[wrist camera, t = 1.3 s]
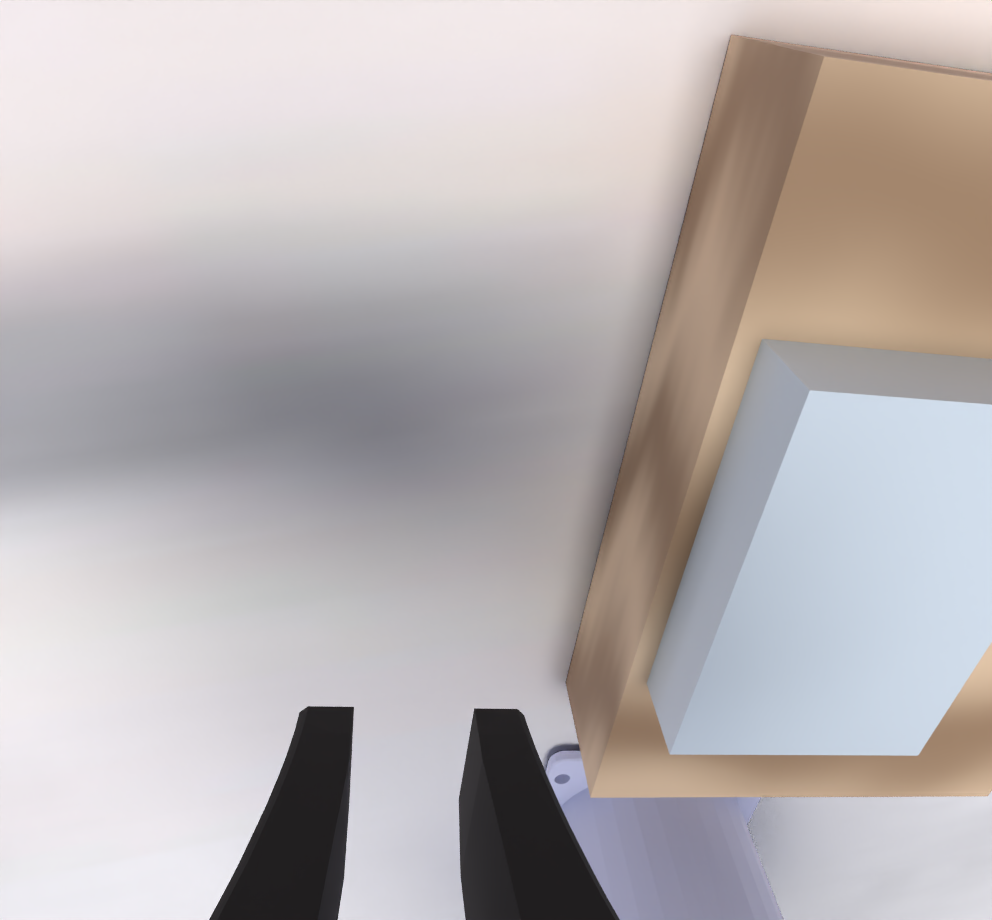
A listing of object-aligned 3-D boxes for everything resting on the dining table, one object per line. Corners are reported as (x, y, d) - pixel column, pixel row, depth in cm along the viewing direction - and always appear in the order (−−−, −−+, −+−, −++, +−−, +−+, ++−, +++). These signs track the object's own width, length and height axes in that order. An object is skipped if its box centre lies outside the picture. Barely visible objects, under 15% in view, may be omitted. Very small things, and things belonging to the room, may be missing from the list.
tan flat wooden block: (913, 688, 26) (987, 796, 23) (565, 682, 24) (590, 797, 21) (1259, 113, 17) (1473, 151, 13) (730, 34, 15) (824, 56, 12)
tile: (874, 687, 20) (917, 755, 18) (646, 683, 19) (669, 754, 17) (1055, 364, 15) (1137, 416, 13) (762, 338, 14) (809, 390, 12)
